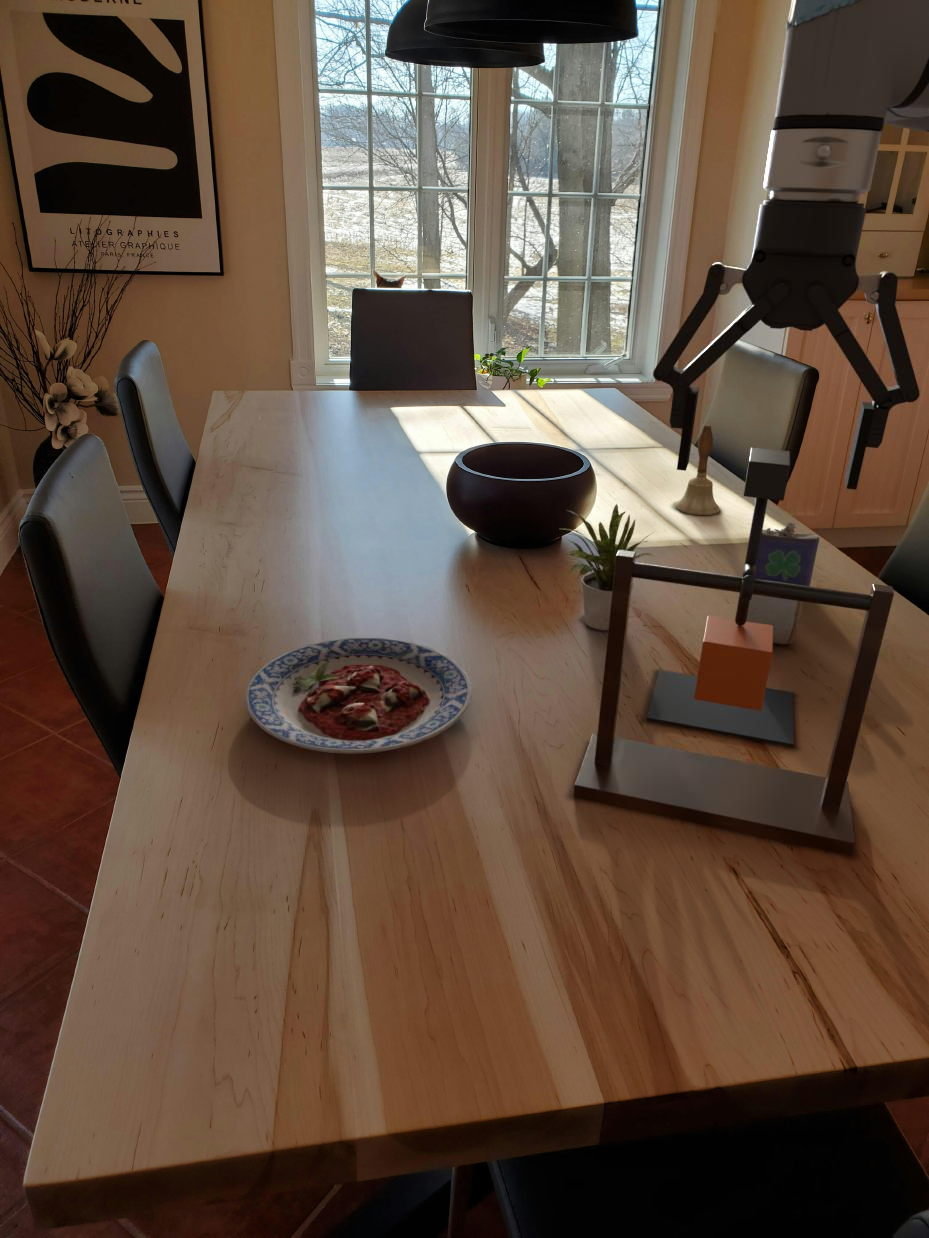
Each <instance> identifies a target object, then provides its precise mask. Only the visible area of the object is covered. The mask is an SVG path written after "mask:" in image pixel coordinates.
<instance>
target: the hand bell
mask: <svg viewBox="0 0 929 1238" xmlns="http://www.w3.org/2000/svg"><path fill="white" fill-rule="evenodd" d="M713 443H714V437H713V431H712V425H710V424H704V425H703V427H702V430H701V432H700V434H699V437H698V441H697V452H698V464H697V470H696V471H697V473H696V476H695V477H693V478H690V479H689V480H688V483H687V486H686V489H685V492H684V494H683V495H682V497H681V498H680V499H678V501H677V502H675V504H674V507H675V509H676V510H677V511H679V512H682V513H685V514H688V515H693V516H711V515H715V514H718V513H719V512H720V510H721V509H720V506H719V504H718V503H716V501H715V498H714V497H715V496H714V491H713V489H714V488H713V487H714V483H713V481H712V480H711V479H709V478H707V472H708V470H707V469H708V460H709V457H710V454H711V452H712V449H713Z"/></svg>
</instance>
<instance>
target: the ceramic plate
mask: <svg viewBox="0 0 929 1238" xmlns="http://www.w3.org/2000/svg"><path fill="white" fill-rule="evenodd" d="M472 692H473V688H472V683H471V680H470V678H469V676H468V674H467V673H466V671H465V669H463V668H462V666H460V664H458V663H457V662H456V661H455V660H454V659H452V658H451V657H449V656H448V655H446V654H444V653H442V652H440V651H438V650H436V649H434V648H431V647H428V646H426V645H421V644H418V643H415V642H412V641H407V640H401V639H395V638H386V637H371V636H370V637H369V636H367V637H365V636H363V637H345V638H335V639H330V640H324V641H320V642H315V643H312V644H308V645H304V646H301V647H298V648H296V649H293V650H290V651H288V652H286V653H282V654H281V655H280V656H278V657H276V658H275V659H273V660H271V661H270V662H268V663H267V664H265V665H264V666H263V667H262V668H260V669H259V670H258V671H257V672H256V673H255V675H254V676H253V677H252V679H251V680H250V682H249V684H248V685H247V688H246V690H245V706H246V709H247V712H248V714H249V716H250V717H251V720H252V721H254V723H255V724H256V725H257V726H258V728H260V729H262V730H263V731H264V732H265V733H267V734H269V735H270V736H271V737H274V738H275V739H277V740H279V741H281V742H284V743H287V744H289V745H292V746H295V747H298V748H303V749H305V750H306V749H307V750H311V751H316V752H323V753H331V754H348V755H349V754H350V755H351V754H352V755H355V754H357V755H358V754H372V753H381V752H387V751H393V750H398V749H402V748H405V747H410V746H413V745H416V744H418V743H422V742H424V741H427V740H430V739H432V738H434V737H436V736H438V735H440V734H441V733H444V731H446V730H448V729H449V728H451V727H452V726H453V725H455V723H457V722H458V721H459V720H460V719H461V718H462V716H463V715H464V714H465V713H466V711H467V710H468V708H469V706H470V703H471V699H472V696H473V693H472Z"/></svg>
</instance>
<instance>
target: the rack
mask: <svg viewBox="0 0 929 1238" xmlns="http://www.w3.org/2000/svg"><path fill="white" fill-rule="evenodd" d="M636 554H637V552H636V551H633V552H632V551H626V550H619V551H618V553H617V555H616V561H615V571H614V580H613V590H612V599H611V609H610V619H609V628H608V630H607V637H606V647H605V656H604V667H603V675H602V686H601V696H600V705H599V716H598V725H597V733H595V732H593V733H592V735H591V737H590V740H589V742H588V743H589V744H588V746H587V749H586V752H585V754H584V758H583V760H582V762H581V766H580V769H579V771H578V774H577V777H576V779H575V783H574V784H573V785H574V786H573V798H576V799H581V800H586V801H590V802H595V803H596V802H597V803H600V804H605V805H610V806H615V807H619V808H623V809H627V810H628V809H629V810H632V811H633V810H634V811H638V812H642V813H643V812H644V813H647V814H651V815H657V816H662V817H667V818H671V819H676V820H679V821H686V822H691V823H694V824H698V825H699V824H700V825H704V826H709V827H714V828H717V829H718V828H720V829H722V830H727V831H728V830H729V831H732V832H737V833H742V834H746V835H751V836H757V837H761V838H766V839H771V840H775V841H781V842H785V843H789V844H795V845H799V846H804V847H809V848H814V849H817V850H818V849H819V850H823V851H828V852H833V853H837V854H841V855H847V856H852V855H853V851H854V848H855V844H856V842H855V833H854V832H855V831H854V824H853V814H852V813H853V812H852V803H851V795H850V794H851V793H850V785H849V781H848V777H849V773H850V768H851V766H852V761H853V756H854V753H855V750H856V746H857V742H858V738H859V733H860V730H861V726H862V722H863V719H864V718H863V717H864V714H865V710H866V706H867V702H868V698H869V694H870V690H871V687H872V684H873V683H872V682H873V679H874V675H875V670H876V667H877V663H878V659H879V655H880V650H881V647H882V645H883V644H882V643H883V639H884V635H885V632H886V627H887V623H888V620H889V616H890V612H891V608H892V604H893V600H894V596H895V591H894V588H893V586H891V585H884V584H876V583H873V584H872V586H871V589H870V593H863V592H861V593H860V592H853V591H846V590H840V589H839V590H838V589H832V588H825V587H818V586H811V585H810V586H803V585H796V584H789V583H781V582H774V581H767V580H760V579H755V583H754V588H753V595H760V596H767V597H774V598H781V599H788V600H795V601H802V602H803V603H810V604H818V605H823V606H831V607H839V608H844V609H853V610H860V611H865V614H864V619H863V623H862V627H861V631H860V635H859V639H858V642H857V647H856V652H855V655H854V660H853V664H852V668H851V672H850V676H849V679H848V680H849V681H848V684H847V689H846V693H845V697H844V701H843V706H842V710H841V712H840V713H841V714H840V717H839V722H838V726H837V729H836V734H835V737H834V743H833V747H832V750H831V754H830V759H829V764H828V768H827V772H826V775H825V776H821V775H815V774H810V773H805V772H801V771H795V770H790V769H784V768H778V767H774V766H769V765H763V764H760V763H759V764H758V763H753V762H747V761H743V760H737V759H732V758H727V757H722V756H716V755H711V754H706V753H702V752H701V753H700V752H695V751H690V750H684V749H679V748H674V747H669V746H663V745H659V744H653V743H647V742H643V741H638V740H632V739H627V738H623V737H616V730H617V720H618V712H619V711H618V710H619V703H620V694H621V685H622V677H623V668H624V659H625V650H626V642H627V633H628V624H629V616H630V608H631V607H630V606H631V600H632V599H631V598H632V591H633V588H632V582H633V583H634V579H641V580H648V581H656V582H661V583H669V584H675V585H676V584H677V585H684V586H691V587H697V588H703V589H704V588H705V589H711V590H717V591H724V592H725V591H726V592H734V593H739V594H740V593H741V588H742V582H743V576H738V575H729V574H724V573H723V574H721V573H716V572H715V573H714V572H710V571H709V572H708V571H700V570H693V569H685V568H679V567H672V566H665V565H658V564H657V565H656V564H651V563H643V562H636V559H635V557H636V556H637V555H636Z"/></svg>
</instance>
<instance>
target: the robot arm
mask: <svg viewBox="0 0 929 1238" xmlns="http://www.w3.org/2000/svg"><path fill="white" fill-rule="evenodd" d="M785 30H786V33H785V40H784V46H783V47H784V48H783V55H782V61H781V71H780V78H779V84H778V90H777V91H778V92H777V99H776V107H775V113H774V120H773V122H772V123H773V124H772V130H771V133H770V140H769V144H768V145H769V147H768V152H767V158H766V159H767V160H766V166H765V172H764V180H763V186H762V187H763V189H764V190H765V191H766V192H770V194H769V196H768V197H767V199H764V200H763V202H762V204H759V210H758V217H757V223H756V230H755V235H754V241H753V247H752V248H753V250H752V255H751V259H750V261H749V264H748V265H747V266H746V268H741V267H736V266H730V265H725V263H723V262H721V261H717V262H716V261H715V262H714V263H713V264H712V265H711V266H710V267H709V268H708V271H707V275H706V279H705V283H704V287H703V291H702V294H701V295H700V297H699V298H698V300H697V302H696V303H695V305H694V306H693V308H692V310H691V311H690V313H689V314H688V316H687V317H686V319H685V321H684V322H683V324H682V325H681V327H680V328H679V329H678V331H677V333H676V335H675V336H674V338H673V339H672V340H671V342H670V344H669V346H668V347H667V349H666V350H665V352H664V353H663V355H662V357H661V358H660V360H659V362H658V363H657V365H656V366H655V368H654V369H653V372H652V376H653V378H654V379H655V381H657V382H662V383H665V384H667V385H669V386H670V387H671V389H672V400H671V408H670V409H671V410H670V416H669V424H670V428H672V429H681V436H680V442H679V450H678V457H677V465H676V470H677V471H684V472H685V471H686V472H687V468H688V466H689V462H690V456H691V449H692V441H693V434H694V428H695V420H696V412H697V406H698V398H699V392H700V387H699V386H698V387H697V386H692V385H693V384H694V383H695V382H696V381H697V380H698V379H699V378H700V377H701V376H702V375H703V374H704V373H705V372H706V371H707V370H709V368H710V367H712V366H713V365H714V364H715V363H716V362H717V361H718V360H719V359H720V358H721V357H722V356H724V355H725V353H727V352H728V351H729V350H730V348H732V347H733V346H734V345H735V344H736V343H737V342H738V341H739V340H740V339H741V338H742V337H743V336H744V335H745V334H747V333H748V332H749V331H750V330H751V329H753V328H754V327H755V326H756V325H757V324H758V323H759V322H760V321H761V322H762V323H763V324H764V325H765V326H767V327H769V328H770V329H779V330H780V329H781V330H782V329H787V328H794V329H797V330H800V331H807V332H812V331H813V330H817V329H819V328H821V327H822V326H823V325H824V326H826V328H827V330H828V331H829V333H830V335H831V336H832V338H833V339H834V340H835V342H836V344H837V345H838V347H839V348H840V350H841V352H842V354H843V355H844V356H845V358H846V359H847V361H848V363H849V364H850V366H851V368H852V369H853V370H854V372H855V374H856V375H857V377H858V379H859V380H860V381H861V383H862V385H863V387H864V388H865V389H866V391H867V393H868V394H869V396H870V398H871V400H872V401H869V402H868V401H861V402H860V409H859V412H858V416H857V422H856V426H855V431H854V435H853V439H852V443H851V449H850V453H849V458H848V463H847V467H846V472H845V476H844V483H845V488H846V489H847V490H854V491H857V488H858V484H859V480H860V476H861V471H862V467H863V463H864V458H865V453H866V449H867V448H872V449H879V448H880V446H881V445H882V443H883V439H884V435H885V430H886V426H887V422H888V419H889V414H890V411H891V409H892V408H893V407H895V406H897V405H900V404H904V403H905V404H906V403H914V402H916V401H917V400H919V397H920V394H921V392H920V388H919V385H918V381H917V378H916V373H915V370H914V366H913V364H912V359H911V356H910V353H909V349H908V345H907V342H906V339H905V338H906V337H905V335H904V332H903V327H902V323H901V321H900V317H899V313H898V310H897V306H896V301H897V292H898V283H899V279H898V276H897V275H896V274H895V273H894V272H893V271H891V270H887V269H886V270H883V271H881V272H880V273H869V274H867V273H866V274H858V272H857V267H856V266H857V264H856V263H857V257H858V253H859V249H860V248H859V247H860V243H861V237H862V233H863V228H864V223H865V217H866V212H867V207H865V203H861V202H860V197H861V194H862V195H864V194H867V193H868V192H870V191H871V187H872V182H873V177H874V172H875V168H876V162H877V157H878V152H879V147H880V143H881V136H882V132H883V130H884V125H888V126H894V127H898V128H903V129H906V130H907V129H908V130H913V131H917V132H919V131H920V132H926V133H929V0H791V3H790V7H789V13H788V18H787V22H786V24H785ZM738 284H741V285H742V288H743V291H745V294H746V295H747V297H748V299H749V301H750V303H751V304H750V305H749V306H748V307H746V308H745V310H743V311H742V312H741V313H740V314H739V316H737V317H736V318H735V319H734V320H733V321H732V322H731V323H730V324H729V325H728V326H727V327H726V328H725V329H723V331H722V332H721V333H720V334H719V335H718V336H717V337H716V338H715V339H714V340H713V341H711V342H710V343H709V344H708V345H707V346H706V347H705V348H704V349H703V350H702V351H701V352H700V353H699V354H698V355H697V356H696V357H695V358H693V360H692V361H691V362H689V363H688V364H687V366H685V367H684V368H683V369H680V368H678V367H676V364H677V362H678V361H679V359H680V357H682V354H683V353H684V351H685V350H686V348H687V347H688V345H689V344H690V342H691V340H692V339H693V338H694V336H695V334H696V333H697V331H698V330H699V329H700V327H701V325H702V323H704V320H705V319H706V318H707V316H708V315H709V313H710V311H711V310H712V309H713V306H714V305H715V303H716V301H717V300H718V298H719V296H720V295H722V296H725V295H727V294H729V293H730V292H731V290H732V288H733V287H734V286H735V285H738ZM857 290H859V291H862V292H863V293H864V296H865V299H866V301H867V302H868V303H869V304H871V305H873V304H874V305H875V311H876V316H877V319H878V322H879V326H880V329H881V332H882V336H883V339H884V343H885V347H886V350H887V353H888V354H887V355H888V358H889V360H890V364H891V368H892V371H893V376H894V378H895V381H896V384H895V385H891V386H886V384H885V383H884V381H883V380H882V378H881V376H880V375H879V373H878V372H877V370H876V368H875V367H874V365H873V363H872V362H871V360H870V359H869V357H868V355H867V354H866V352H865V350H864V349H863V347H862V346H861V345H860V343H859V341H858V339H857V338H856V337H855V334H854V333H853V331H852V330H851V329H850V326H849V325H848V323H847V322H846V319H844V317H843V315H842V314H841V312H840V311H839V310H840V309H841V307H843V306H844V305H845V303H846V302H848V301H849V299H850V298H852V296H853V295H855V293H856V292H857Z"/></svg>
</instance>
